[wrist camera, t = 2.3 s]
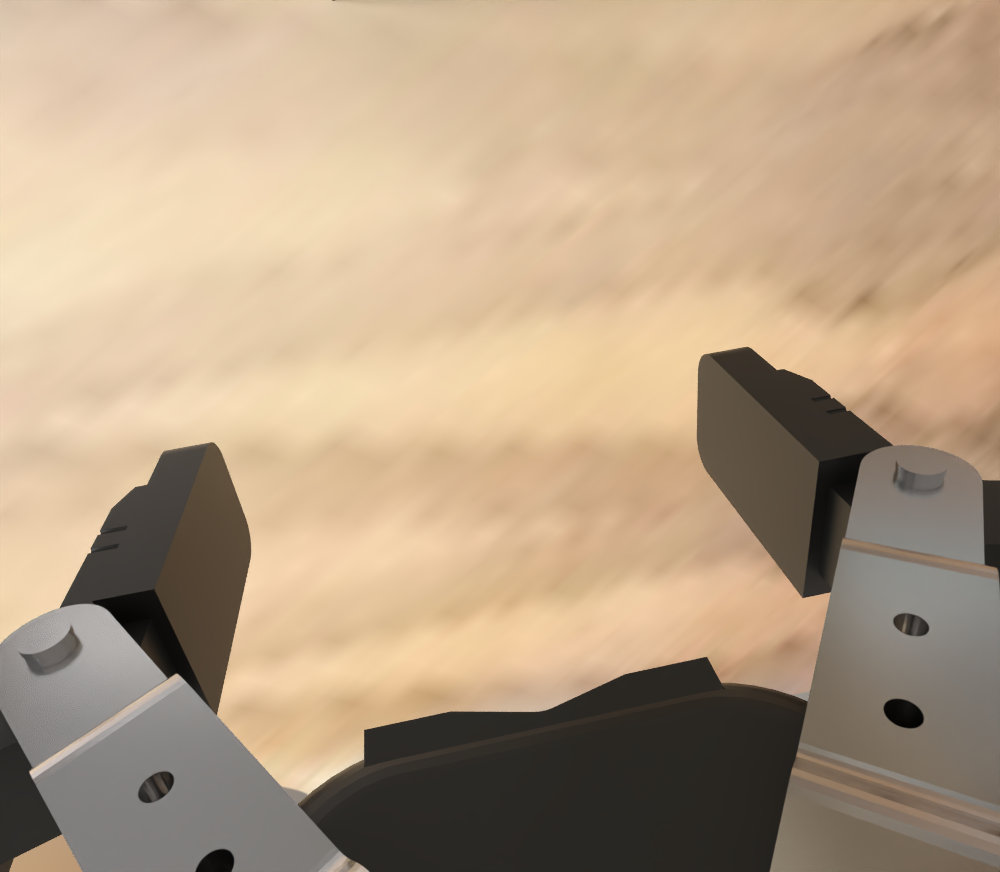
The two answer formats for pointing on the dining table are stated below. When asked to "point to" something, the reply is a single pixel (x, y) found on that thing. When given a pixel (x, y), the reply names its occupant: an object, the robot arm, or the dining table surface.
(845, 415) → the robot arm
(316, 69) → the dining table surface
